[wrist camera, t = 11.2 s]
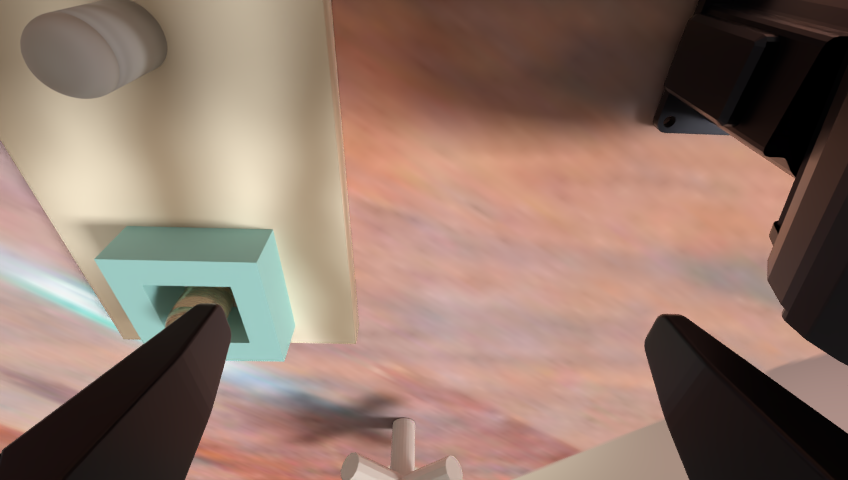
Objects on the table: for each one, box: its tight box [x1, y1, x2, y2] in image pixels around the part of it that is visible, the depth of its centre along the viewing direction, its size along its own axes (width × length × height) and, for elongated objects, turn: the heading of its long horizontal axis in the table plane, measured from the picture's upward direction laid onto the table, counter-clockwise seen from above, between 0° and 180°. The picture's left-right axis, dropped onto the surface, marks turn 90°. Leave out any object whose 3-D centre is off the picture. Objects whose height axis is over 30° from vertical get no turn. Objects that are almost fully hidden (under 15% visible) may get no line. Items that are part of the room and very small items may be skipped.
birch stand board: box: [0, 0, 359, 344], centre depth 17 cm, size 14×22×6 cm, turn 178°
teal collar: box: [94, 226, 295, 361], centre depth 21 cm, size 7×7×2 cm
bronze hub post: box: [165, 286, 236, 328], centre depth 20 cm, size 2×2×4 cm
